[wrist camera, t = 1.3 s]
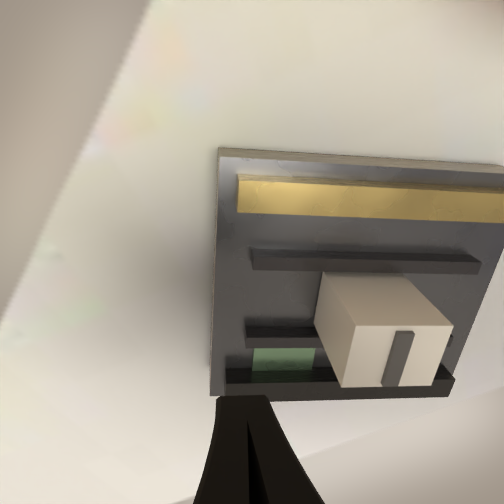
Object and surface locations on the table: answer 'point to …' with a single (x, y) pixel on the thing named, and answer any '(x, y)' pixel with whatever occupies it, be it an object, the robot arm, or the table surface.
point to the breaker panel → (340, 259)
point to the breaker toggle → (379, 330)
